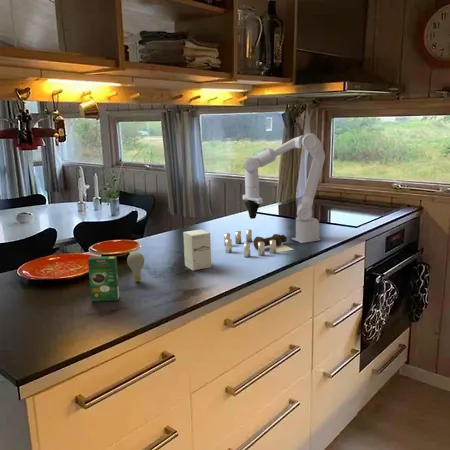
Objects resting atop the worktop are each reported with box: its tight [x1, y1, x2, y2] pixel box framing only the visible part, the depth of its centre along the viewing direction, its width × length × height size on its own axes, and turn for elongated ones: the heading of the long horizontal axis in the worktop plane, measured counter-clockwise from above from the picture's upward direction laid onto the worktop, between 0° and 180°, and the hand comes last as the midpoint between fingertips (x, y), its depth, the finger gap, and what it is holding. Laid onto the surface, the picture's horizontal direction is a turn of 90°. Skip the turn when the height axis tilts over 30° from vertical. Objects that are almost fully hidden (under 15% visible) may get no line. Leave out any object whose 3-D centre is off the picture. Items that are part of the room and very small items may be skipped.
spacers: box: [223, 229, 277, 258], centre depth 181 cm, size 16×22×5 cm
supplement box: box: [182, 229, 212, 271], centre depth 161 cm, size 7×7×13 cm
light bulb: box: [126, 251, 145, 283], centre depth 147 cm, size 6×6×10 cm
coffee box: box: [87, 255, 120, 303], centre depth 133 cm, size 8×3×13 cm, turn 93°
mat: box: [265, 243, 295, 253], centre depth 186 cm, size 7×20×1 cm, turn 24°
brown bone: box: [253, 233, 288, 251], centre depth 184 cm, size 6×5×15 cm
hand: (252, 218), depth 194 cm, fingers closed
